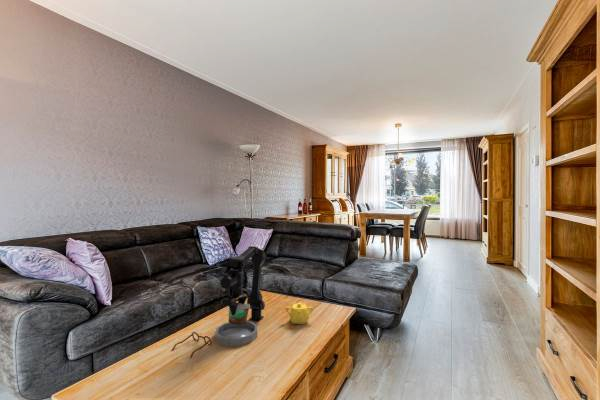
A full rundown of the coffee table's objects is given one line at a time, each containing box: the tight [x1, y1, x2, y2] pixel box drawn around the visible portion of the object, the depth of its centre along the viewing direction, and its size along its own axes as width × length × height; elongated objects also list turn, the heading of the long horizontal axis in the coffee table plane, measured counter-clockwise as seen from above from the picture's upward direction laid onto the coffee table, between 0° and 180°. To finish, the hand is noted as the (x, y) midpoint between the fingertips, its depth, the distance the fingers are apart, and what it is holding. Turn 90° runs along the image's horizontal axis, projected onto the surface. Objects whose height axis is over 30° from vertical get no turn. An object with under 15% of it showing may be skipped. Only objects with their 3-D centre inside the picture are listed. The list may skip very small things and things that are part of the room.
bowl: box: [214, 320, 258, 347], centre depth 151 cm, size 21×21×4 cm
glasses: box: [171, 331, 212, 359], centre depth 139 cm, size 13×13×5 cm
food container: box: [228, 302, 250, 325], centre depth 151 cm, size 12×6×10 cm, turn 69°
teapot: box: [285, 301, 314, 325], centre depth 168 cm, size 14×13×10 cm
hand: (236, 313), depth 151 cm, fingers closed on food container, 6 cm apart
